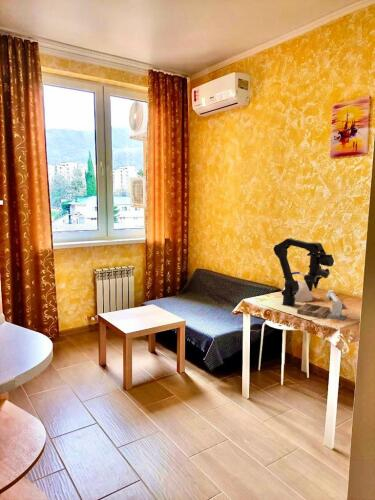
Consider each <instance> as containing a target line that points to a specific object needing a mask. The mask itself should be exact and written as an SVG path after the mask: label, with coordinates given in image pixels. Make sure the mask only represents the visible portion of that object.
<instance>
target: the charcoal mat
mask: <svg viewBox="0 0 375 500" xmlns="http://www.w3.org/2000/svg"><path fill="white" fill-rule="evenodd" d="M325 316H326V317H325V318H327V319H333V320H336V321H337V320H338V321H341V322H342V321H343V322H344V321H345V319H346V318H347V315H345V314H341V317H340V318H339V317H334V316H332V312H329V313H327V314H326V315H325Z"/></svg>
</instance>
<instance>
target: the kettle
mask: <svg viewBox="0 0 375 500" xmlns="http://www.w3.org/2000/svg"><path fill="white" fill-rule="evenodd" d="M291 273H292V276H293V275H296V274H297V275H302V276H303V277H304V276H305V275H306V273H304V272H301V271H294V272H292V271H291ZM282 278H283V279H285V277H284V276H282ZM297 281H298V285H299V290H298V292H297V293H296V295H295V297H294V298H295V302H299V303H300V302H302V303H303V302H310V301H313V299H314V295H313V290H312V291H309V288H308V286H307V284H306V282H305V280H304V281H302V280H297ZM284 289H285V286H284V287H283V290H284ZM283 290H282V291H283ZM281 297H282V298H283V295H282V294H281Z"/></svg>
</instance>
